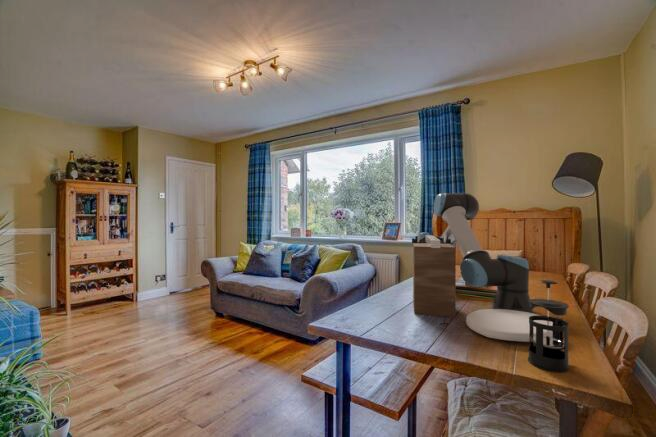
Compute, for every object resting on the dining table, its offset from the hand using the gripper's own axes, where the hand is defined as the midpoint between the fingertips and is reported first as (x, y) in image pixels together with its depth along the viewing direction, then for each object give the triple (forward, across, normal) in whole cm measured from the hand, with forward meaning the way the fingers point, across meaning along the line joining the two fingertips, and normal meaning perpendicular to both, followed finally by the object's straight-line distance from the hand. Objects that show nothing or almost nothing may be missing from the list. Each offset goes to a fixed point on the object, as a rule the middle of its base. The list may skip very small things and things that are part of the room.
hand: (432, 234), depth 163 cm
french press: (+49, -25, -63) cm, 84 cm away
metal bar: (+21, +2, -15) cm, 26 cm away
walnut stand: (+11, +2, -41) cm, 43 cm away
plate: (+28, -22, -52) cm, 63 cm away
